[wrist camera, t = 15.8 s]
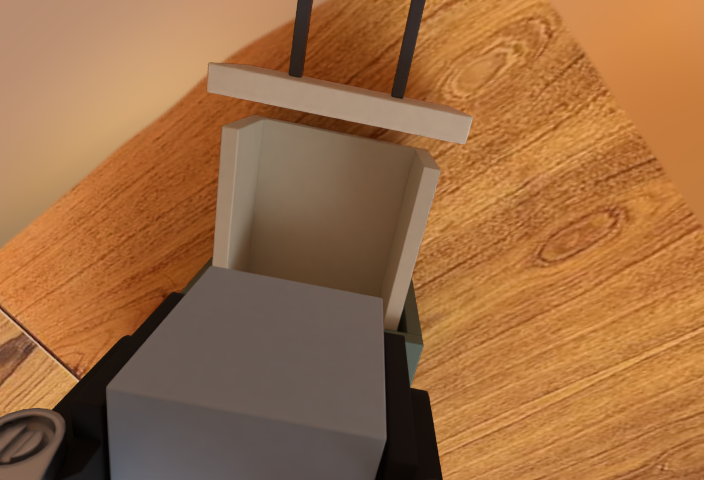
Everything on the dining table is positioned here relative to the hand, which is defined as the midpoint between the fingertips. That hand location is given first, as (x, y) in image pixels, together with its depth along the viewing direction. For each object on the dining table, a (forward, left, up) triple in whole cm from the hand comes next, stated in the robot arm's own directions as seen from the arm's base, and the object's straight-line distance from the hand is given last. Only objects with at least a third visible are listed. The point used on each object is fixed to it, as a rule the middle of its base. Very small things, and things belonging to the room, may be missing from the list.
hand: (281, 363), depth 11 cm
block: (0, 0, -1) cm, 1 cm away
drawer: (-3, -1, -15) cm, 16 cm away
